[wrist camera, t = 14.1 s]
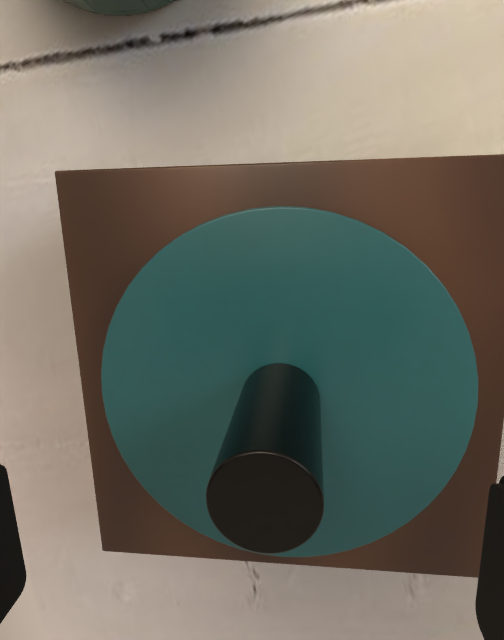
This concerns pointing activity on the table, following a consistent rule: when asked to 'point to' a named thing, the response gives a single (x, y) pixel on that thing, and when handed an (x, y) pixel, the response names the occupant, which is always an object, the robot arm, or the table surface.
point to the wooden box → (319, 193)
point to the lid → (289, 381)
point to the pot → (119, 6)
